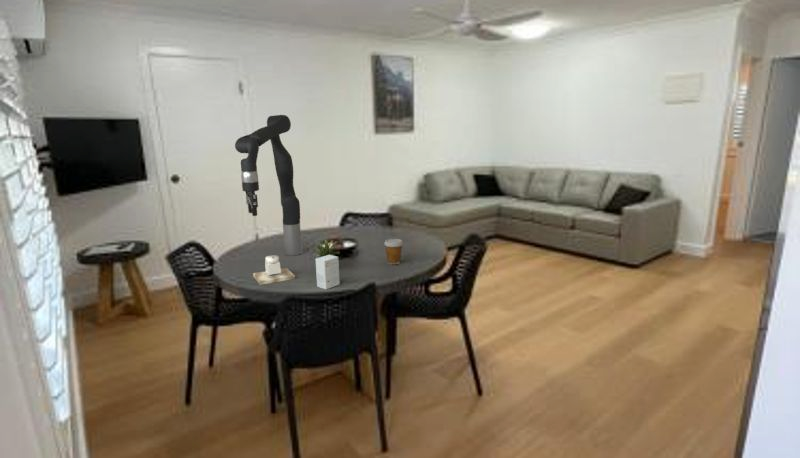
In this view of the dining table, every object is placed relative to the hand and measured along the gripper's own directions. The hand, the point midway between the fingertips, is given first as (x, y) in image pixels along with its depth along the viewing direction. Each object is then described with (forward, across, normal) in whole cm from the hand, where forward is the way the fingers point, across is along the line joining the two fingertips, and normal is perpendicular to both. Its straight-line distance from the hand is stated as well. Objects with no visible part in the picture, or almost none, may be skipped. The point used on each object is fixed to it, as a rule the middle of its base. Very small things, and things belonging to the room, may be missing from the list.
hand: (252, 214), depth 215 cm
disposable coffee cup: (+28, +26, +63) cm, 74 cm away
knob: (+26, +16, +4) cm, 30 cm away
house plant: (+28, +22, +28) cm, 45 cm away
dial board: (+28, +16, +4) cm, 33 cm away
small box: (+28, +40, +22) cm, 54 cm away
